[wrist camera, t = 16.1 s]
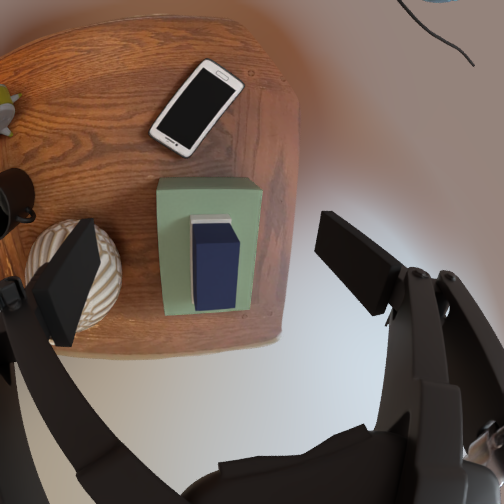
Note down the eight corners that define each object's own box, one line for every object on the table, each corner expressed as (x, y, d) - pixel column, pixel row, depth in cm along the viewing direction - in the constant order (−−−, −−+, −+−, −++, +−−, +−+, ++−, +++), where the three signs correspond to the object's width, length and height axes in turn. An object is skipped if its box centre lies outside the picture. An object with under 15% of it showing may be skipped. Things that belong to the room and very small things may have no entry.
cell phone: (245, 85, 36) (247, 84, 35) (187, 160, 39) (188, 161, 38) (206, 57, 32) (206, 55, 32) (146, 134, 36) (145, 134, 35)
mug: (39, 233, 37) (18, 257, 29) (-7, 208, 31) (-33, 228, 24) (53, 184, 34) (29, 200, 27) (4, 160, 29) (-25, 171, 21)
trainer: (189, 214, 35) (194, 239, 28) (228, 213, 37) (242, 238, 30) (191, 296, 41) (196, 331, 34) (224, 294, 42) (235, 328, 36)
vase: (138, 282, 46) (128, 368, 29) (65, 295, 43) (34, 374, 26) (115, 197, 39) (76, 257, 22) (36, 218, 35) (-24, 280, 18)
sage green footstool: (248, 177, 43) (262, 189, 36) (239, 283, 52) (249, 309, 45) (159, 177, 39) (156, 190, 33) (164, 287, 48) (164, 315, 41)
